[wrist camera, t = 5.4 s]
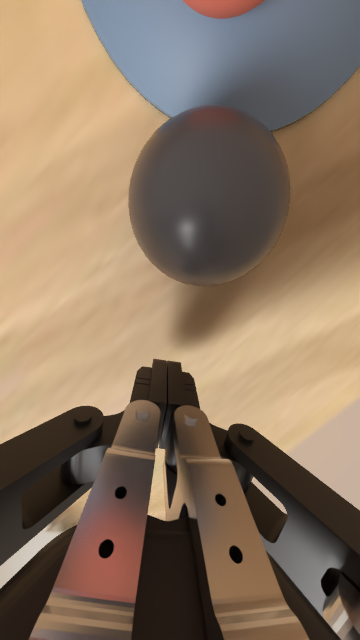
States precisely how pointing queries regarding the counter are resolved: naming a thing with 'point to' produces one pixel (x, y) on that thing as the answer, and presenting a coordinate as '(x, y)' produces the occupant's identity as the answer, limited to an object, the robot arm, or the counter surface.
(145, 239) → the dark gray ball
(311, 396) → the counter surface
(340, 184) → the counter surface
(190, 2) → the red ball
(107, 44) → the blue-grey flat disc
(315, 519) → the robot arm
